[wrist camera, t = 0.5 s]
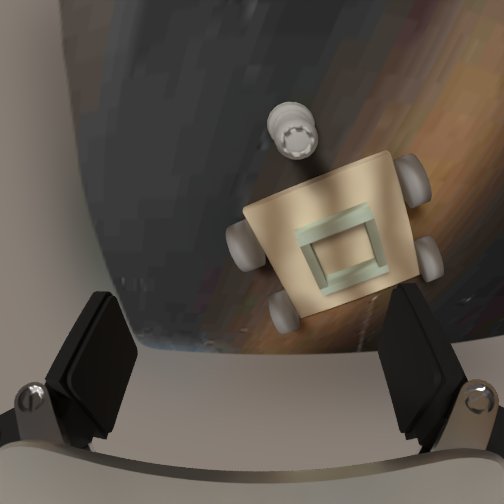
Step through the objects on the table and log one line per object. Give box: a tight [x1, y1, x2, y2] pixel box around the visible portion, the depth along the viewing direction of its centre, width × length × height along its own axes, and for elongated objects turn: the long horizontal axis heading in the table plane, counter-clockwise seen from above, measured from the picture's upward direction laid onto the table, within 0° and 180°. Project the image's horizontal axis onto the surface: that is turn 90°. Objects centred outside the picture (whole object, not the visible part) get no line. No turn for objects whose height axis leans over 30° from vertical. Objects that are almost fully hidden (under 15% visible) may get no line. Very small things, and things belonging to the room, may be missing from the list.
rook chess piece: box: [267, 102, 318, 159], centre depth 25 cm, size 4×4×8 cm
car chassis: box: [226, 150, 444, 334], centre depth 33 cm, size 20×16×5 cm
